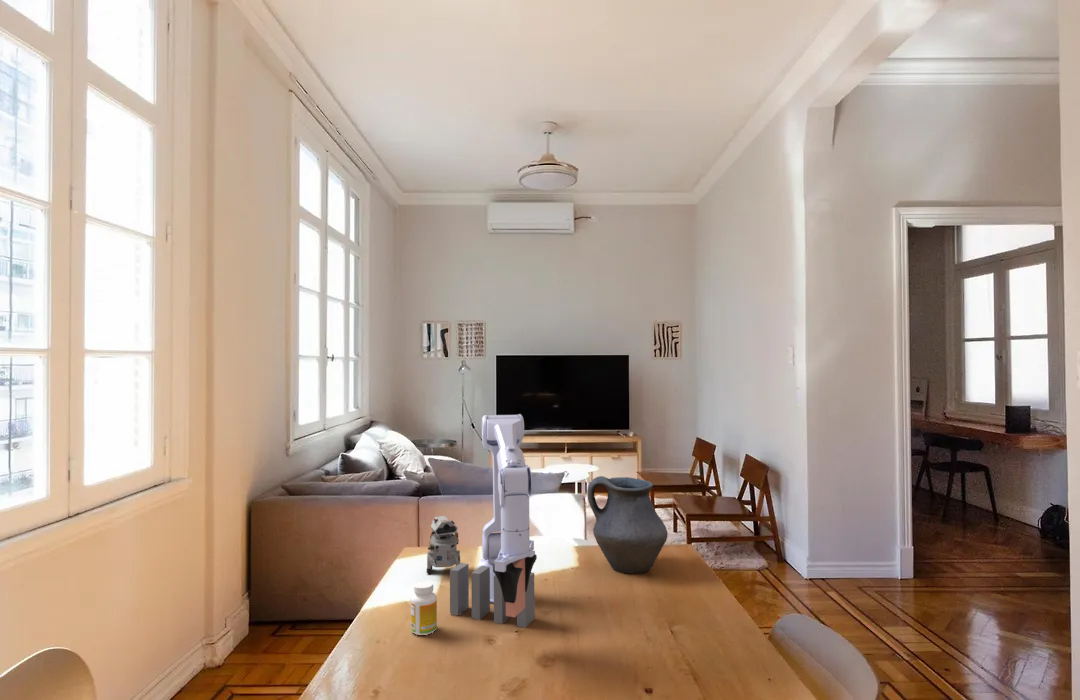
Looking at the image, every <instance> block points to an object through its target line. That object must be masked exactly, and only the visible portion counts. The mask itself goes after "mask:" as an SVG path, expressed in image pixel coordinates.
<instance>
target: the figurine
mask: <svg viewBox="0 0 1080 700" xmlns="http://www.w3.org/2000/svg"><path fill="white" fill-rule="evenodd" d="M431 521H432V522H431V525H430V529H431V530H432V531H431V533H430V534H429V536H430V537H429V538H430V539H429V541H428V544H427V550H428V551H427V554H426V555H427V556H426V558H427V559H426V566H427V567H426V574H427V573H431V574H432V572H433V567H434V568H450V567H452V566H453V567H454V566H457V565H458V564H460V563H461V551H460V550H457V545H459V541H460V540H459V532H458V526H456V524H455V522H454V521H453V520H450V519H448V517H446V516H445V515H437V516H434V518H433V519H432V520H431Z"/></svg>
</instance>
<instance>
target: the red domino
mask: <svg viewBox="0 0 1080 700" xmlns="http://www.w3.org/2000/svg"><path fill="white" fill-rule="evenodd" d="M513 566H515V567H516V568H522V571H521V574H520V577H519V580H518V585H517V595H516V600H515V602H514V603H509V602H506V616H510V617H511V618H517V615H518V614H519V613H520V612H521V611H522V610H523V609H524V608H525V558H523V559H520V560H517V561H515V562H513ZM510 617H509V618H510Z"/></svg>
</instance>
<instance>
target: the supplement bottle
mask: <svg viewBox="0 0 1080 700" xmlns="http://www.w3.org/2000/svg"><path fill="white" fill-rule="evenodd" d="M413 591H414V594H412V596H411V598H410V632H411V631H412V632H413V633H415V634H419V635H424V634H430V633H432V634H434V633H435V632H436V631H437V629H438V622H437V621H438V617H437V615H438V613H437V609H438V606H437V605H438V604H437V601H438V600H437V594H436V593H435V592H433V591H434V583H433V582H432V581H427V580H425V581H418V582H416V583H415V584H414V585H413ZM435 630H436V631H435ZM434 631H435V632H434ZM412 632H411V633H412ZM433 632H434V633H433ZM430 635H431V634H430Z"/></svg>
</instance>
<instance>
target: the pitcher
mask: <svg viewBox="0 0 1080 700" xmlns="http://www.w3.org/2000/svg"><path fill="white" fill-rule="evenodd" d="M597 487H604V488H605V489H606V491H607V497H606V498H607V499H606V502H605V505H604V507H603V508H601V507H599V506H598V504H597V500H596V497H595V490H596V488H597ZM653 487H654V484H653V482H651V481H648V480H645V479H640V478H635V477H627V476H626V477H625V476H624V477H623V476H622V477H619V476H618V477H610V478H608V477H606V476H603V475H600V476H599V475H598V476H596V477H594V478H593V479H592V480H590V482H589V484H588V485H587V490H586V492H587V493H586V495H587V500H588V504H589V506H590V509H591V511H592V513H593V515H594V517H595V523H594V526H593V529H592V532H593V536H594V539H595V541H596V543H597V545H598V546H599V548H600V550H601V552H602V553H603V555H604V557H605V559H606V560H607V562H608V564H609V565H610V567H611V568H612V570H613V571H615V572H619V573H622V574H635V573H639V574H643V573H647V572H649V571H650V570H651V569H652V568H653V567H654V564H655V562H656V560H657V559H658V556H659V555H660V552H662V549H663V548H664V546H665V543H666V542H667V540H668V534H669V533H668V529H667V527H666V524H665V523H664V521H663V519H662V518H661V517H660V516H659V514H658V513H657V511H656V510H655V508H654V505H653V503H652V500H651V497H650V492H651V490H652V488H653Z"/></svg>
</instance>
